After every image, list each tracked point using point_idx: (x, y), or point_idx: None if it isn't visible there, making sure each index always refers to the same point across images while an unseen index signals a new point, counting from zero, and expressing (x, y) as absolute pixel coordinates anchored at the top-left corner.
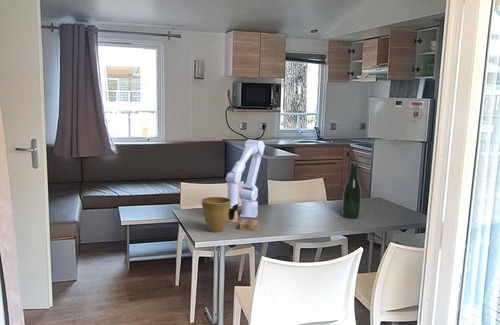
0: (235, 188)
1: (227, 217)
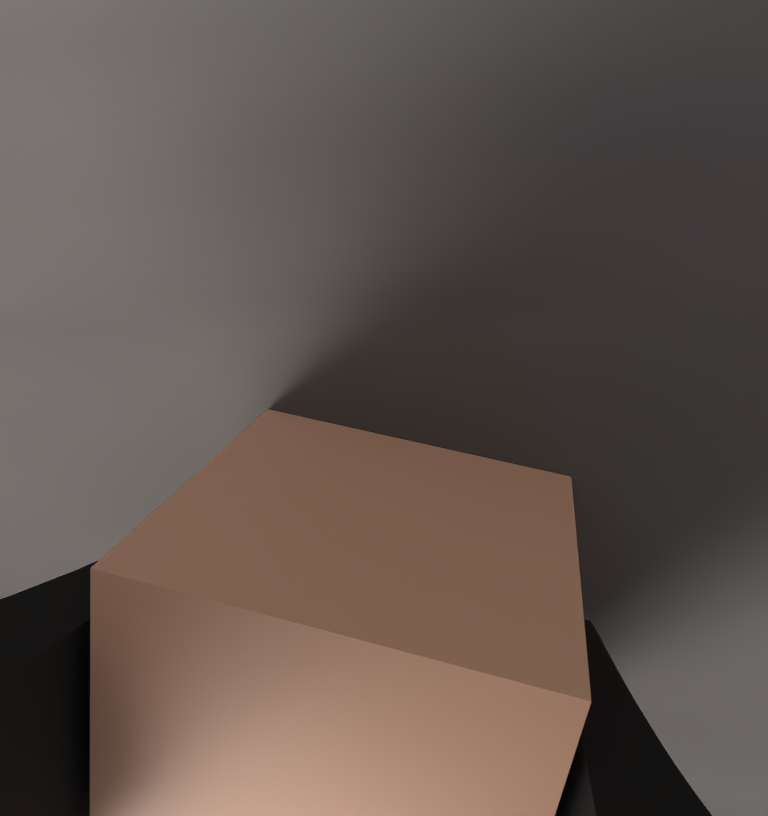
0: None
1: (204, 482)
